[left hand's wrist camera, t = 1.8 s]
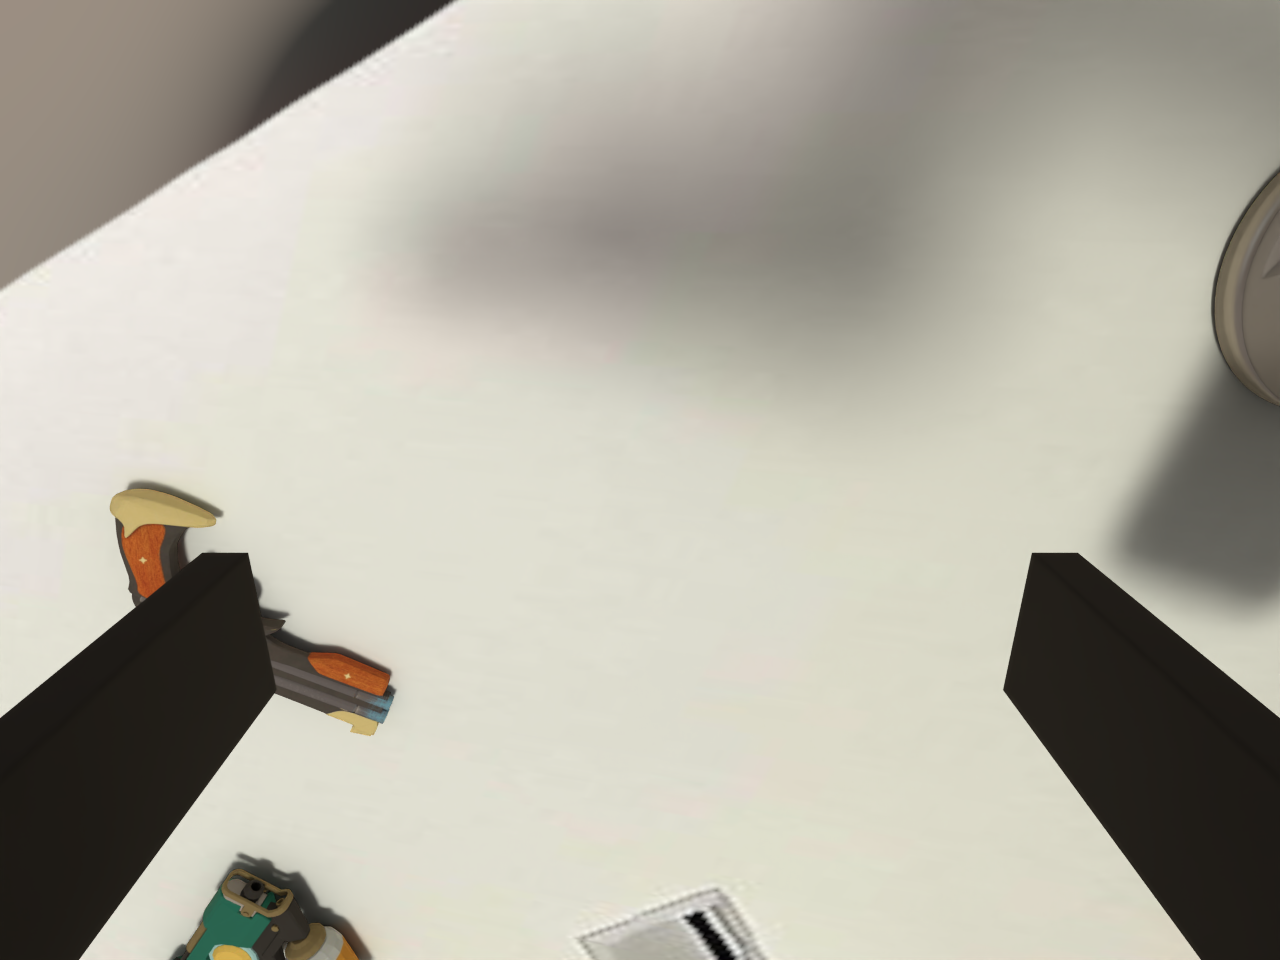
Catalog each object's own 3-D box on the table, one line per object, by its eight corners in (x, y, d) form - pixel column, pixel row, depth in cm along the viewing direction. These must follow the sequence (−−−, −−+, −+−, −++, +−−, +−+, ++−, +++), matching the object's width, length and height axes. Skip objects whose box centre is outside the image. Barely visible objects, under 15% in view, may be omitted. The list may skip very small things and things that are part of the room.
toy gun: (107, 486, 40) (49, 636, 42) (437, 620, 45) (370, 750, 47) (134, 472, 43) (78, 614, 45) (443, 600, 47) (379, 724, 49)
